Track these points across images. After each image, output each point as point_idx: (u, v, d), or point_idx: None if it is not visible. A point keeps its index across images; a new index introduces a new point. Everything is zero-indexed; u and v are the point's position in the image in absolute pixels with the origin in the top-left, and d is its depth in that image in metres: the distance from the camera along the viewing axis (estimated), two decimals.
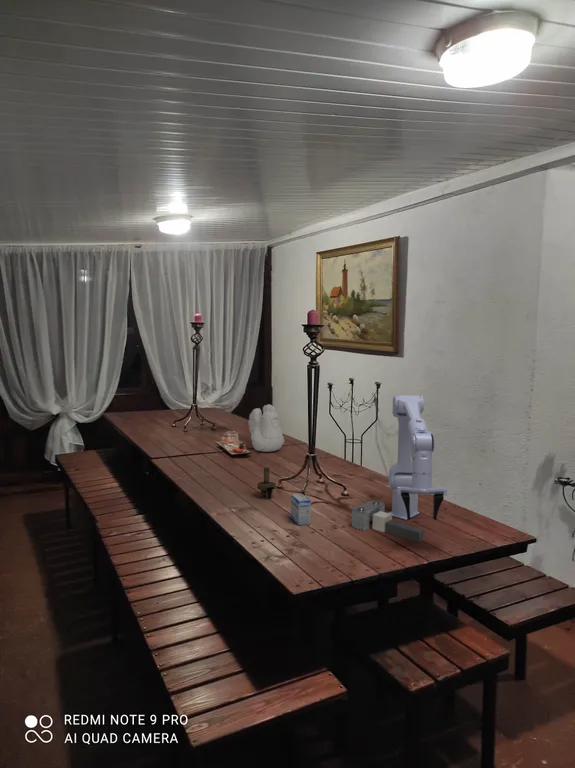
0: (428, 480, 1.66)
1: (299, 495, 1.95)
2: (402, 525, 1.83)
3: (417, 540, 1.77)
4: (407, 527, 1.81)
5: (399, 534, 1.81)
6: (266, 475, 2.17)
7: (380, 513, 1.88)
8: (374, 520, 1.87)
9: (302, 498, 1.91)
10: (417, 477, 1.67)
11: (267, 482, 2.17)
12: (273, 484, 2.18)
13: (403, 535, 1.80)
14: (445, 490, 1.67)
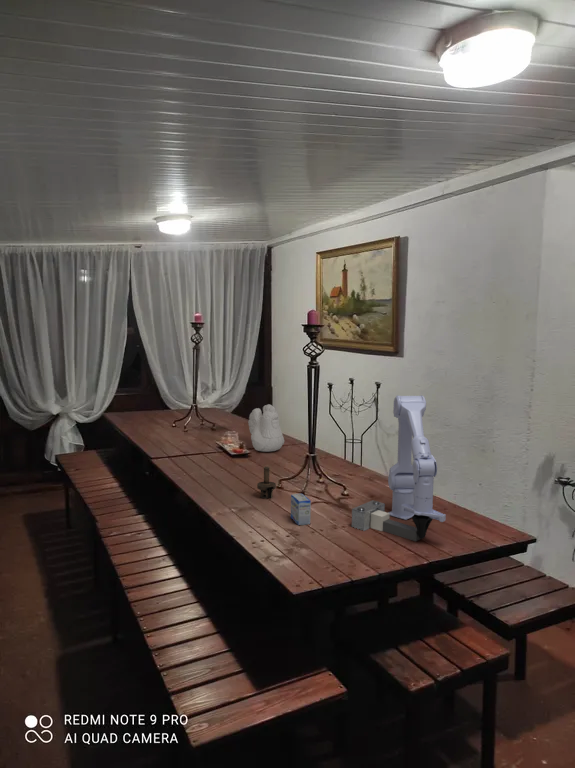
0: (424, 504, 1.73)
1: (299, 495, 1.95)
2: (400, 523, 1.83)
3: (414, 539, 1.78)
4: (404, 526, 1.81)
5: (396, 533, 1.82)
6: (266, 475, 2.17)
7: (378, 512, 1.89)
8: (372, 519, 1.88)
9: (302, 498, 1.91)
10: (415, 500, 1.75)
11: (267, 482, 2.17)
12: (273, 484, 2.18)
13: (400, 534, 1.81)
14: (441, 517, 1.71)
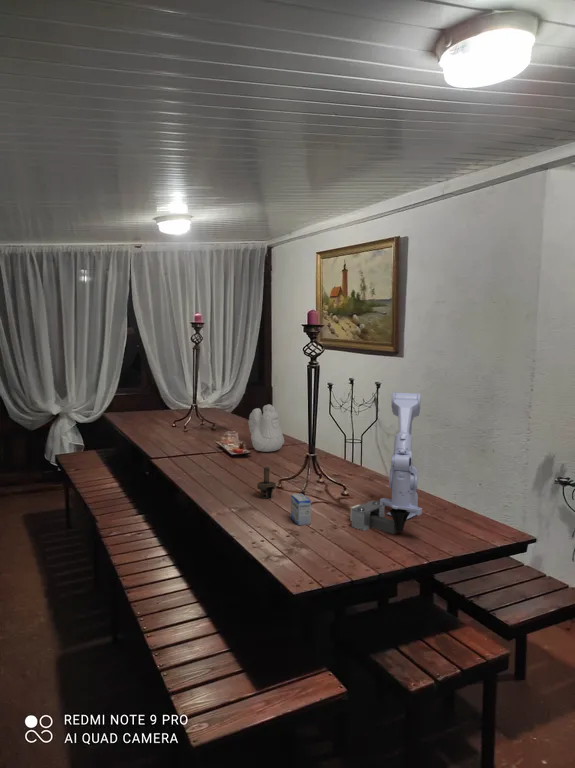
0: (401, 498, 1.79)
1: (299, 495, 1.95)
2: (378, 517, 1.89)
3: (392, 532, 1.83)
4: (383, 519, 1.87)
5: (375, 526, 1.88)
6: (266, 475, 2.17)
7: None
8: None
9: (302, 498, 1.91)
10: (392, 494, 1.81)
11: (267, 482, 2.17)
12: (273, 484, 2.18)
13: (379, 527, 1.87)
14: (417, 510, 1.77)
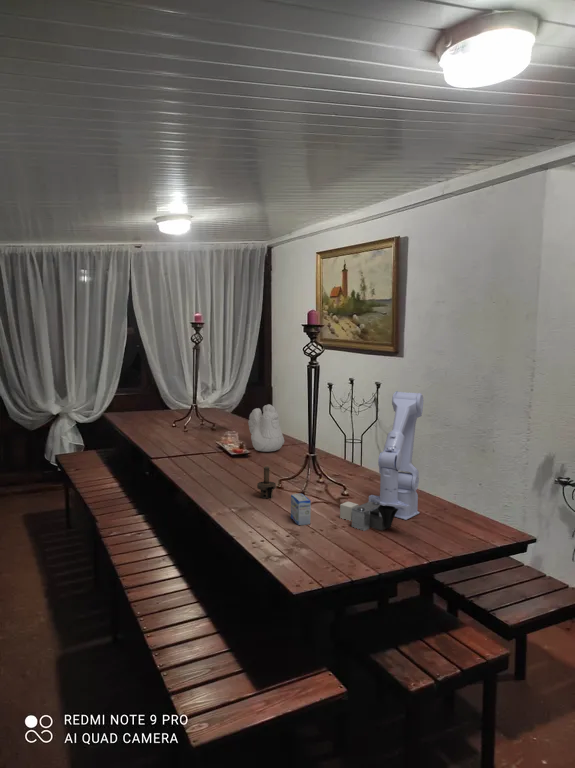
0: (389, 495, 1.82)
1: (299, 495, 1.95)
2: None
3: (380, 528, 1.86)
4: (372, 516, 1.90)
5: None
6: (266, 475, 2.17)
7: (347, 503, 1.97)
8: (341, 510, 1.96)
9: (302, 498, 1.91)
10: (381, 491, 1.84)
11: (267, 482, 2.18)
12: (273, 484, 2.18)
13: None
14: (404, 507, 1.80)
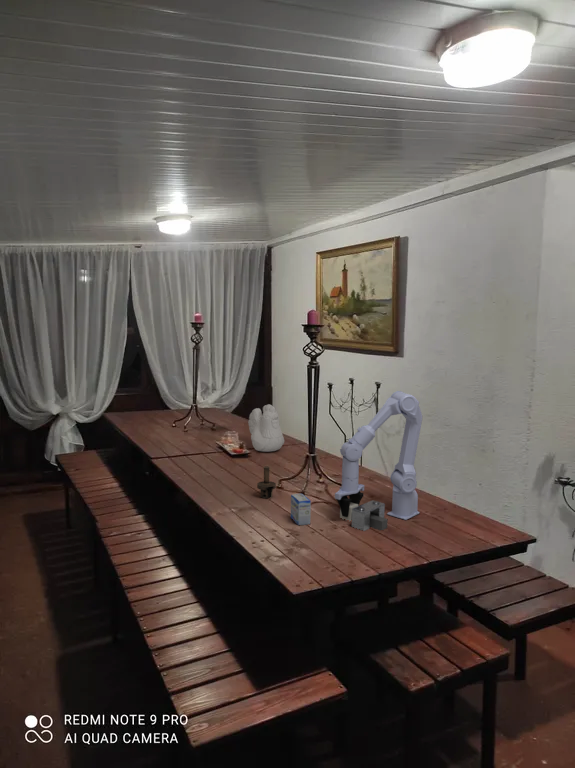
0: None
1: (299, 495, 1.95)
2: None
3: (380, 528, 1.86)
4: (371, 516, 1.90)
5: None
6: (266, 475, 2.17)
7: None
8: None
9: (302, 498, 1.91)
10: None
11: (267, 482, 2.18)
12: (273, 484, 2.18)
13: None
14: None
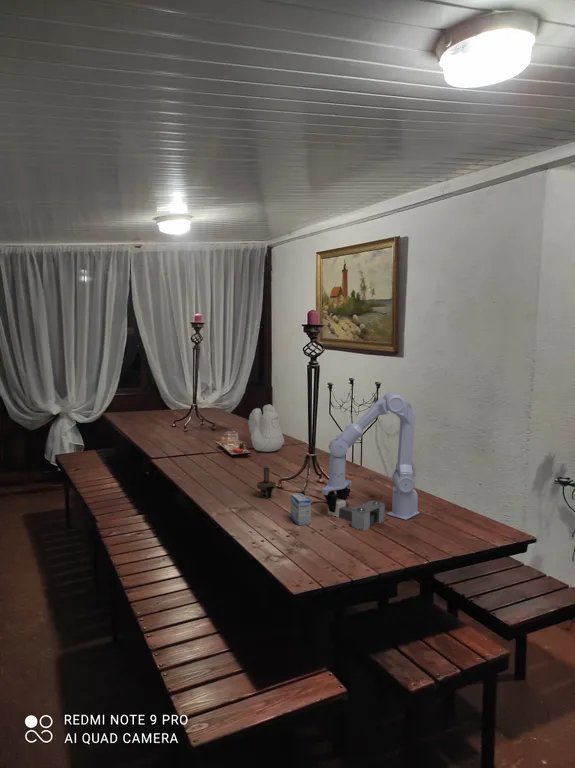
0: (329, 477, 2.00)
1: (299, 495, 1.95)
2: None
3: None
4: None
5: (351, 519, 1.94)
6: (266, 474, 2.17)
7: None
8: None
9: (302, 498, 1.91)
10: None
11: (267, 481, 2.18)
12: (273, 483, 2.19)
13: None
14: None
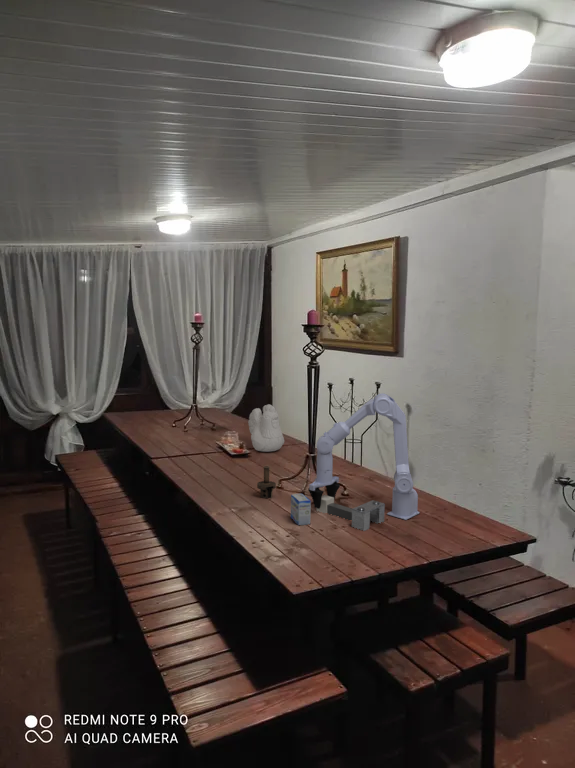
0: None
1: (299, 495, 1.95)
2: (342, 506, 1.99)
3: None
4: (346, 509, 1.97)
5: (339, 515, 1.98)
6: (266, 474, 2.18)
7: (323, 496, 2.05)
8: None
9: (302, 498, 1.91)
10: None
11: (267, 481, 2.18)
12: (273, 483, 2.19)
13: (342, 516, 1.97)
14: None
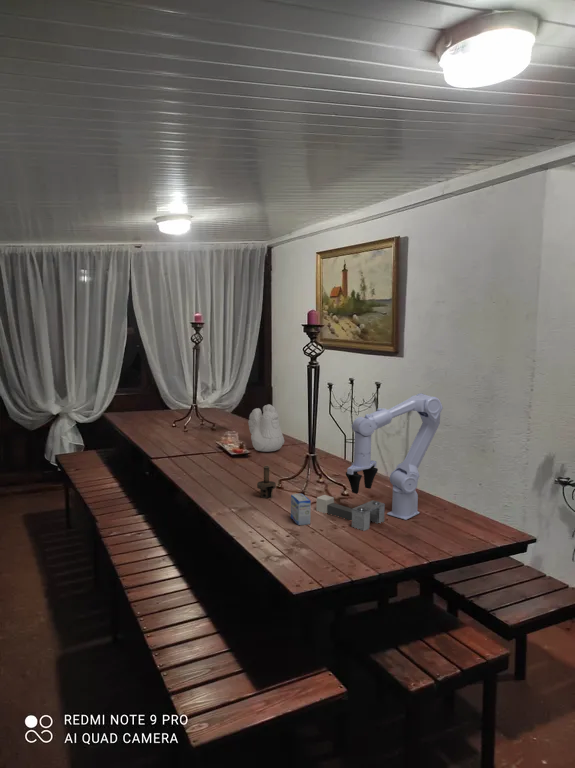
0: (354, 456, 1.94)
1: (299, 495, 1.95)
2: (342, 506, 1.99)
3: None
4: (346, 509, 1.97)
5: (339, 515, 1.98)
6: (266, 474, 2.18)
7: (323, 496, 2.05)
8: (317, 503, 2.03)
9: (302, 498, 1.91)
10: None
11: (267, 481, 2.18)
12: (273, 483, 2.19)
13: (342, 516, 1.97)
14: None
